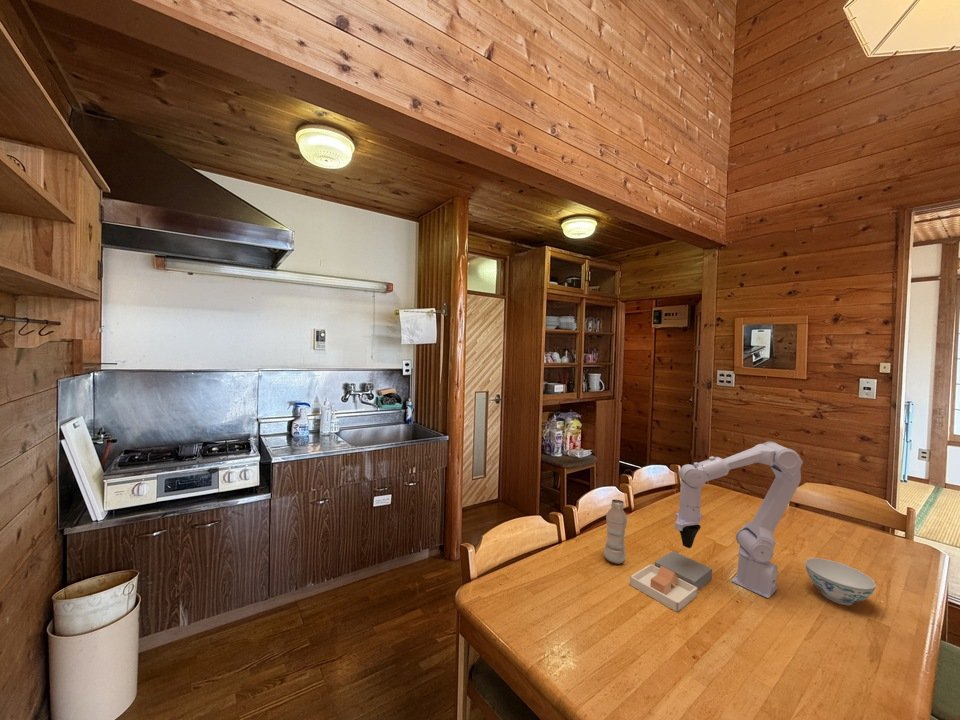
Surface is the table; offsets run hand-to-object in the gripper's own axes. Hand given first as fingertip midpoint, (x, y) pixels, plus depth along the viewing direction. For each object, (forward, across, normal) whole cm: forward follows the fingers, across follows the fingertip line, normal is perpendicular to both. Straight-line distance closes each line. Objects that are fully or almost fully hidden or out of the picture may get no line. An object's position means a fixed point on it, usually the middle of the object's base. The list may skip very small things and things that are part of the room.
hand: (687, 546), depth 118 cm
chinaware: (+10, -27, +31) cm, 42 cm away
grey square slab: (+9, +2, 0) cm, 9 cm away
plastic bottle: (+9, +13, -17) cm, 23 cm away
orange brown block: (+7, +12, 0) cm, 14 cm away
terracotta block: (+6, +16, 0) cm, 16 cm away
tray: (+9, +14, 0) cm, 17 cm away
